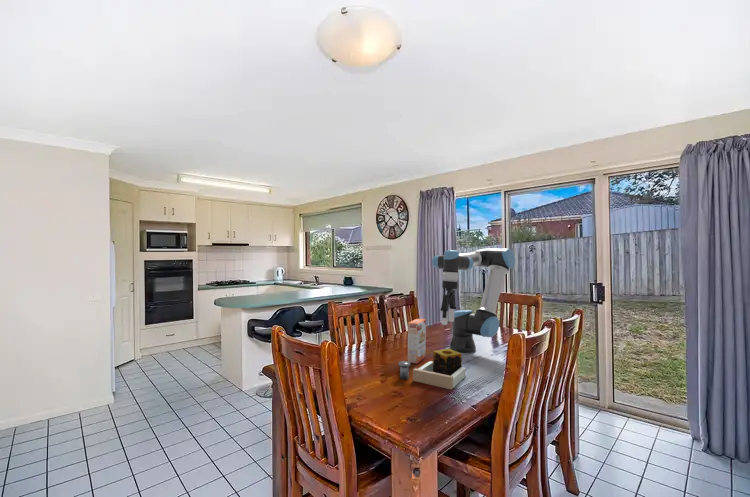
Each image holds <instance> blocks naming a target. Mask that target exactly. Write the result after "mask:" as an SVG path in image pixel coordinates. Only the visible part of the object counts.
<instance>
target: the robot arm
mask: <svg viewBox="0 0 750 497" xmlns="http://www.w3.org/2000/svg"><path fill="white" fill-rule="evenodd" d="M515 263H516V258H515V254H514V252H513V250H512V249H510V248H503V247H502V248H483V249H477V250H472V251H470V252H465V253H460V252H459V250H453V249H451V250H449V249H448V250H445V251H444V253H443V255H440V254H438V255H434V256H433V257H432V260H431V264H432V266H433V268H434V269H438V270H442V274H441V276H442V282H441V283H442V285H441V286H442V287H441V288H442V289H445V290H443V296H442V302H441V306H440V311H441V325H443V326H448V322H451V323H452V328H451V329H452V332H451V333H452V334H451V339H450V342H449V346H448V347H449V348H448V349H451V350H454V351H456V352H459V353H461V354H462V353H463V354H468V353H469V354H470V353H474V352H477V350H476V348H477V347H476V343H475V340H474V337H473V335H475V336H481V337H484V338H492V337H494V336H496V334H497V333H498V331H499V328H500V320H499V318H498V315H497V313H496V311H497V306H498V302H499V299H500V295H501V291H502V287H503V283H504V279H505V275H507V274H508V273H509V270H510V269H511V270H512V269H514V268H515V265H516V264H515ZM473 267H483V268H487V269H488V270H489V272H488V273H489V274H488V276H487V280H486V284H485V287H484V292H483V295H482V297H481V303H480V306H479V307H478V308H476V311H475V313H474V312H473V310H472V309H460V310H457V303H456V290H457V289H458V284H459V283H458V281H459V271H470V270H471V269H472V268H473Z"/></svg>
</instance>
